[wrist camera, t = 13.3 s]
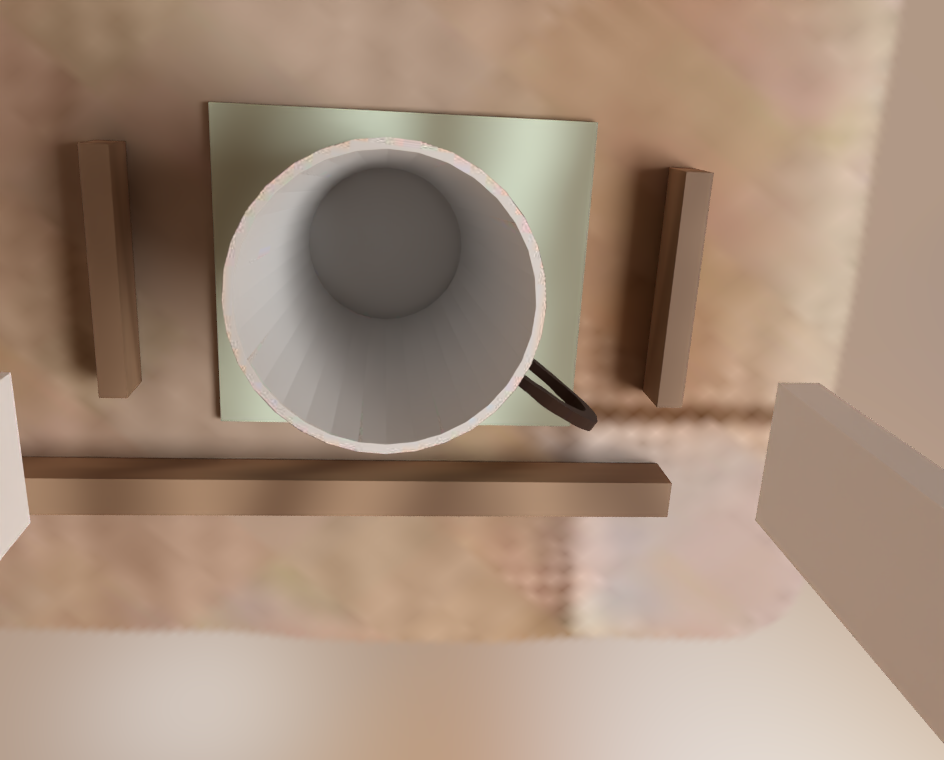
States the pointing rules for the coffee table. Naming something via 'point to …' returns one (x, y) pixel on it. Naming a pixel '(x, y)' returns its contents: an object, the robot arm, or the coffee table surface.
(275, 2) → the coffee table surface
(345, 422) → the coffee mug
